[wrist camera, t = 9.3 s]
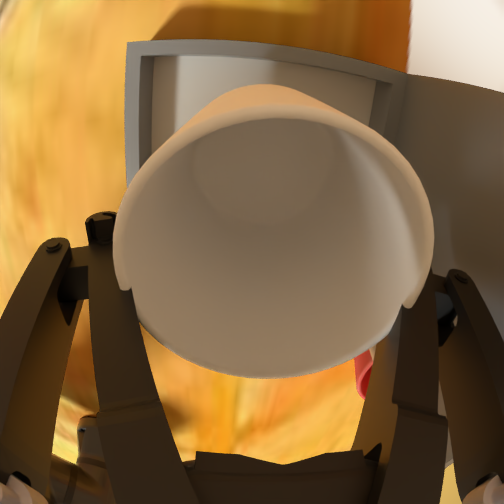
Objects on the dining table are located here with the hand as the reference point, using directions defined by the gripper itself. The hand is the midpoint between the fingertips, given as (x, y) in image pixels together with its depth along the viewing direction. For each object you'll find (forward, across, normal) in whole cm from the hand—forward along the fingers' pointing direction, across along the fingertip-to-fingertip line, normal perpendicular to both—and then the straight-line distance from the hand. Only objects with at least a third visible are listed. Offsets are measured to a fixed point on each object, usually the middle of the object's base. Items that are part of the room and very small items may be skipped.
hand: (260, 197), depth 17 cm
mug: (+1, 0, 0) cm, 1 cm away
